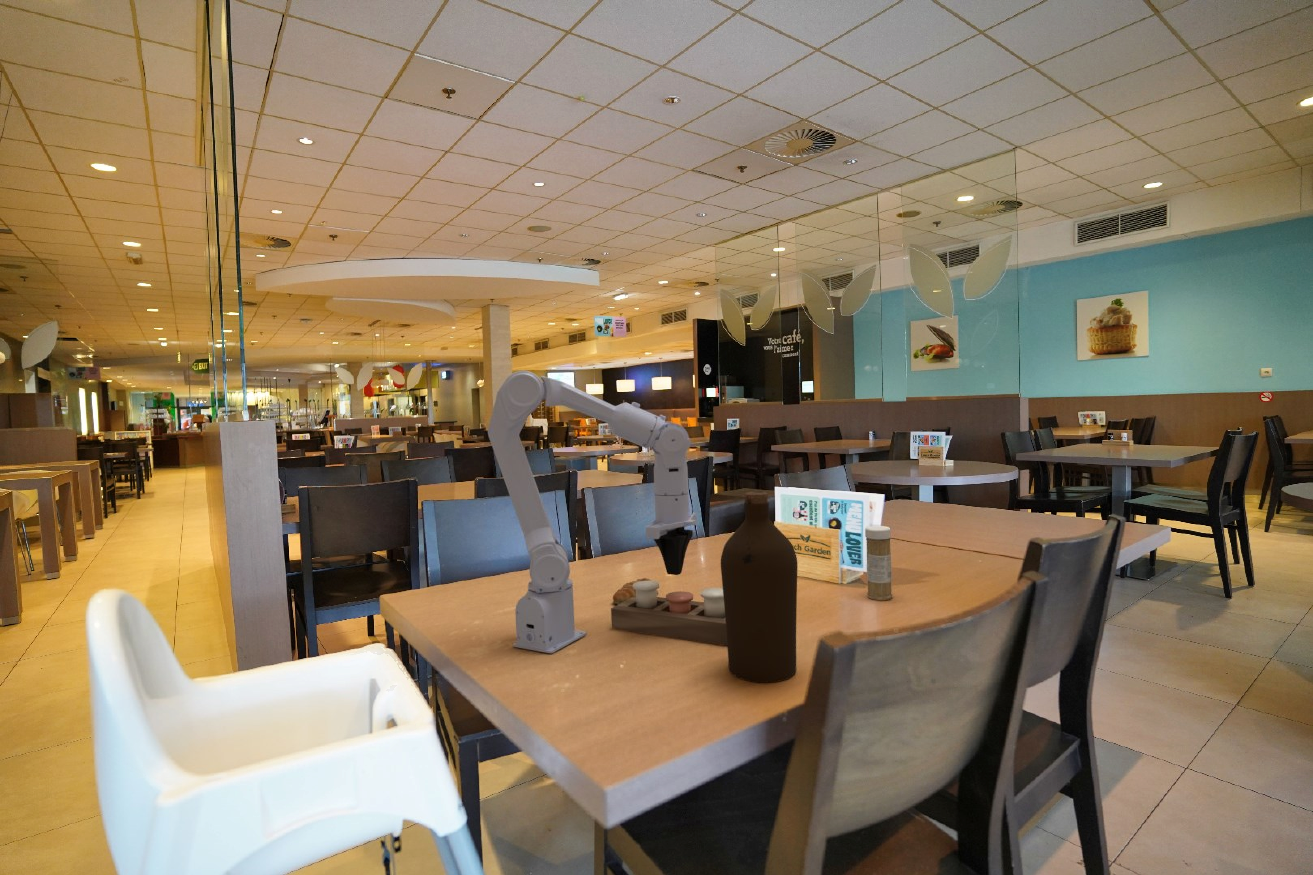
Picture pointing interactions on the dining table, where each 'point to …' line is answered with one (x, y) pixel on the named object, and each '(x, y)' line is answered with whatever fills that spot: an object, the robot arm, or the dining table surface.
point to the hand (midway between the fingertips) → (674, 573)
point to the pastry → (626, 592)
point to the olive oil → (760, 597)
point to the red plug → (679, 602)
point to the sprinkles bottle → (878, 562)
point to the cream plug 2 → (713, 602)
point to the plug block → (669, 622)
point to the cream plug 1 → (646, 594)
